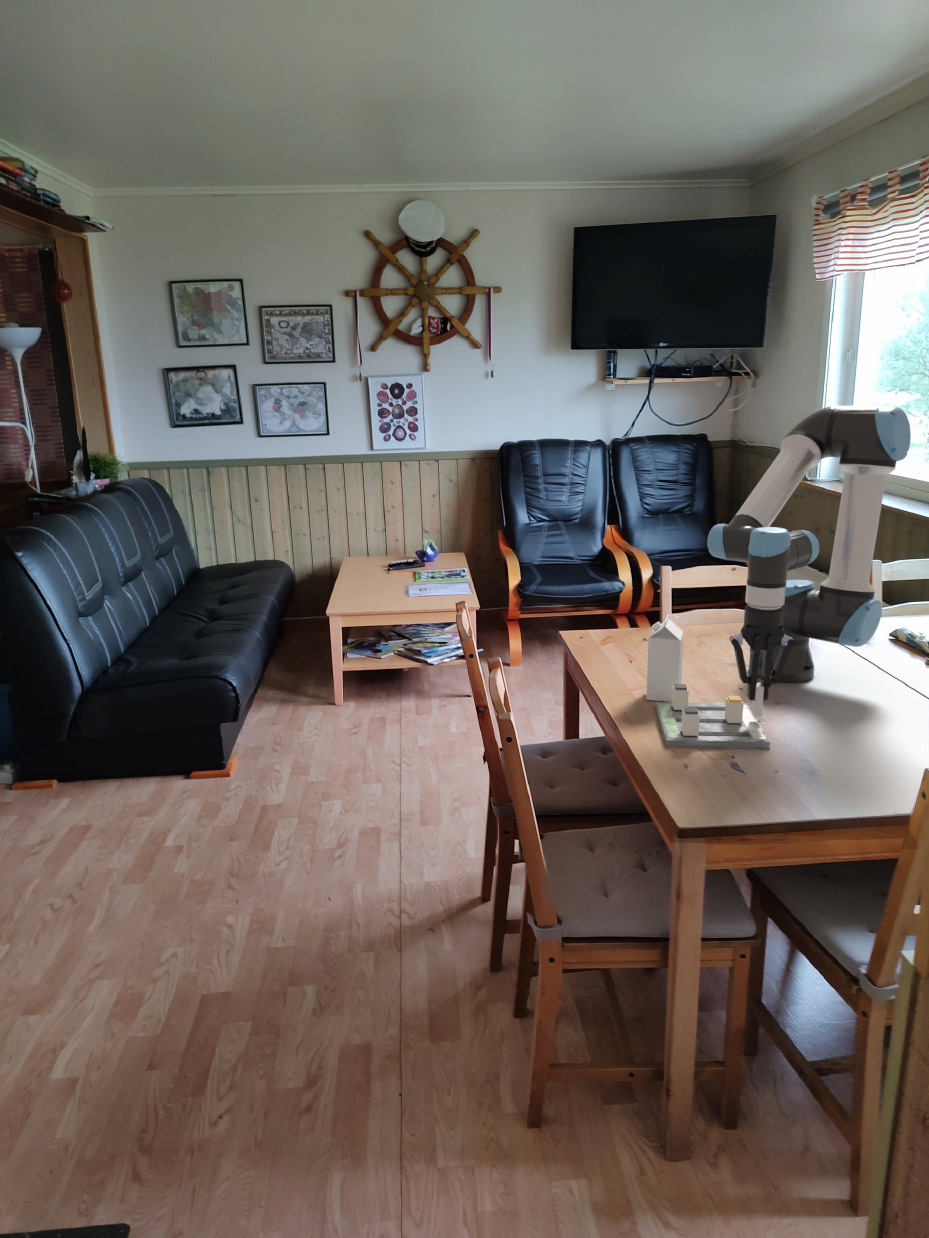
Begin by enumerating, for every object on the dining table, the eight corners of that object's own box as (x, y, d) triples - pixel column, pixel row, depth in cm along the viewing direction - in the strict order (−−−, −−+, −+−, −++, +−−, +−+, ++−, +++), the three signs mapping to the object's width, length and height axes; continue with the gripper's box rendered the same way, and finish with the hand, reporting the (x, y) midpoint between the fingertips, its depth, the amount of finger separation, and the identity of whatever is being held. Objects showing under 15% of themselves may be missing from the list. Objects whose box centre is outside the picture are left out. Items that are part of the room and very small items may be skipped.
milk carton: (680, 693, 200) (684, 615, 195) (677, 703, 194) (681, 623, 189) (649, 690, 202) (652, 613, 197) (646, 700, 196) (648, 621, 191)
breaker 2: (696, 729, 175) (697, 707, 173) (698, 735, 172) (699, 712, 170) (681, 729, 175) (682, 706, 174) (683, 735, 172) (684, 712, 171)
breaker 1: (685, 704, 188) (686, 683, 187) (687, 709, 185) (688, 688, 184) (671, 704, 188) (672, 683, 187) (673, 709, 186) (674, 688, 184)
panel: (745, 709, 189) (746, 702, 189) (769, 748, 169) (770, 741, 169) (654, 708, 191) (654, 701, 191) (666, 746, 171) (667, 739, 171)
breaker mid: (739, 717, 180) (740, 695, 179) (742, 723, 178) (743, 700, 176) (724, 717, 181) (726, 695, 179) (727, 722, 178) (728, 700, 177)
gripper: (792, 600, 175) (783, 708, 181) (727, 600, 176) (720, 707, 182) (803, 609, 168) (793, 721, 174) (735, 609, 169) (728, 720, 175)
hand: (756, 714), depth 178 cm, fingers closed
